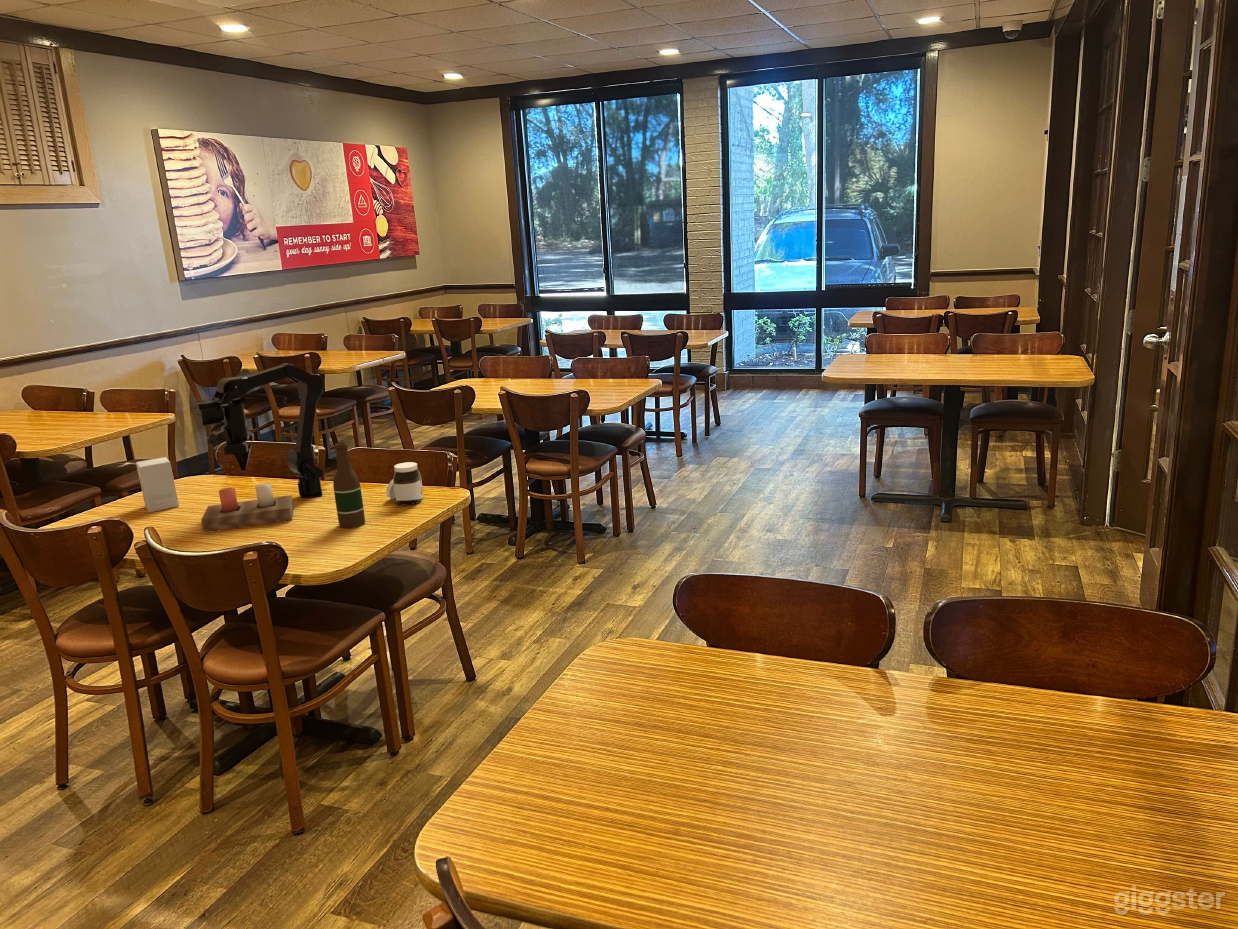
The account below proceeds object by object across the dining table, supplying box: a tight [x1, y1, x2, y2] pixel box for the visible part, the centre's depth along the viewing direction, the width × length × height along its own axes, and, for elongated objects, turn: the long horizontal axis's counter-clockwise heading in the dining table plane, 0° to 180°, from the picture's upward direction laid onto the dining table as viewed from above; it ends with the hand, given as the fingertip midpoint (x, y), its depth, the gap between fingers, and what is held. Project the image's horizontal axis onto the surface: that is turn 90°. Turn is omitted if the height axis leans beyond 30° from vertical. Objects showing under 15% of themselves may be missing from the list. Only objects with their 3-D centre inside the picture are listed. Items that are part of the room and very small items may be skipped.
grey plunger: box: [254, 482, 274, 507], centre depth 264 cm, size 4×4×6 cm
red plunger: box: [218, 487, 238, 512], centre depth 261 cm, size 4×4×6 cm
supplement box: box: [135, 456, 180, 513], centre depth 281 cm, size 9×9×15 cm
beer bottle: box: [332, 441, 366, 529], centre depth 251 cm, size 8×8×24 cm
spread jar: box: [385, 461, 424, 505], centre depth 273 cm, size 12×11×12 cm
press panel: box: [200, 494, 295, 533], centre depth 264 cm, size 24×14×4 cm, turn 107°
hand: (243, 470), depth 270 cm, fingers closed
